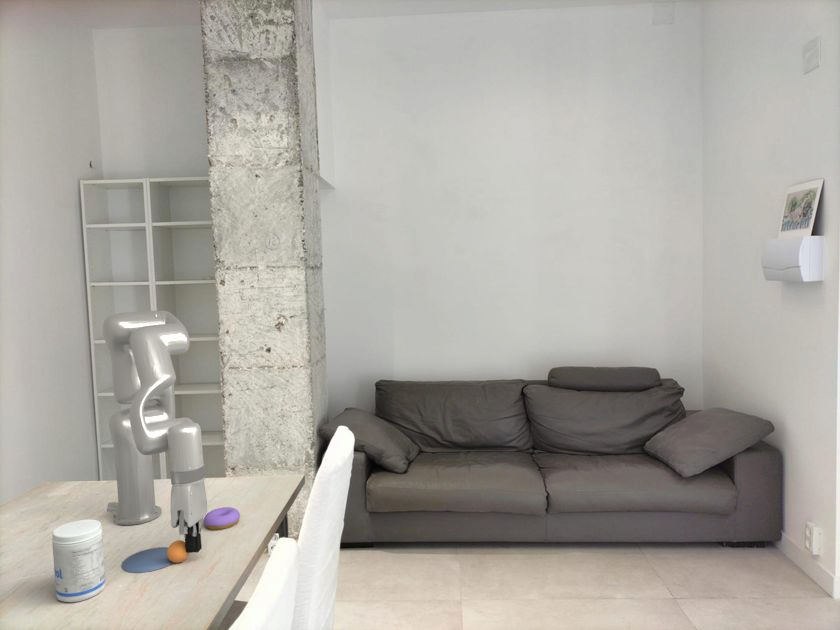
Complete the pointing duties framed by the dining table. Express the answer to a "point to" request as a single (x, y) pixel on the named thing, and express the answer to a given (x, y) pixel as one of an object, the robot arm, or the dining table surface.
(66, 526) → the supplement tub
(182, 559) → the ball
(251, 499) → the dining table surface
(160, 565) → the disc
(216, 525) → the donut
